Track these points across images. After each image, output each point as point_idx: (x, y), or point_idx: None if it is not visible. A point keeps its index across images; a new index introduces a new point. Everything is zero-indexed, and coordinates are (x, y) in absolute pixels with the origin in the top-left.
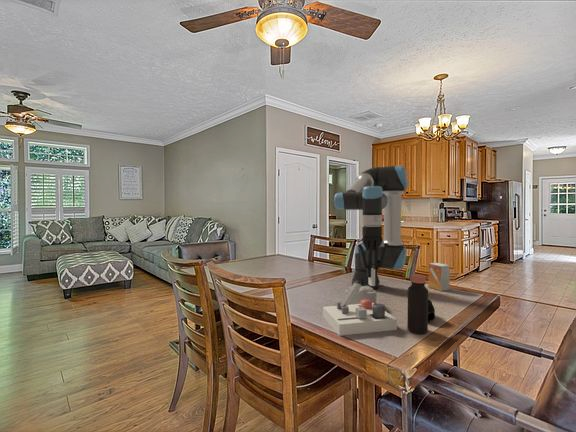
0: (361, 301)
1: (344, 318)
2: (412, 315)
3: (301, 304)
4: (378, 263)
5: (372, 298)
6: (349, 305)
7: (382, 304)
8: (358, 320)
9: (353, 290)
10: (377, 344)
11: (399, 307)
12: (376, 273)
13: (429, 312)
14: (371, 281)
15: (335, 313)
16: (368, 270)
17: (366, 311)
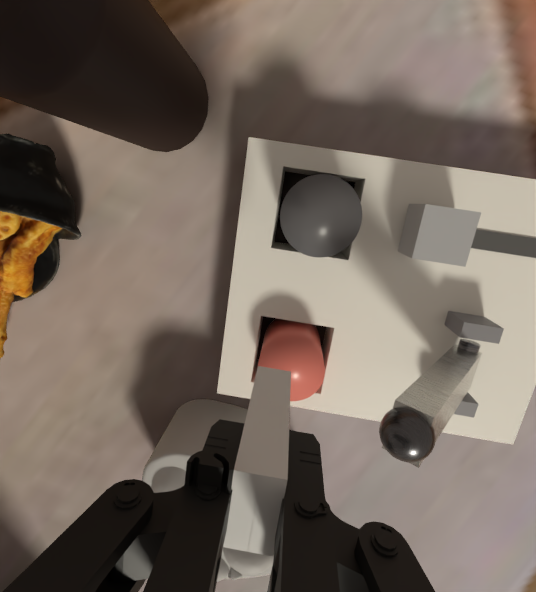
0: (324, 375)
1: (523, 253)
2: (179, 50)
3: (487, 569)
4: (114, 572)
5: (192, 432)
6: (364, 408)
7: (282, 226)
8: (467, 201)
9: (447, 390)
10: (456, 33)
11: (69, 370)
12: (213, 442)
13: (13, 139)
14: (289, 395)
15: (515, 338)
16: (321, 494)
17: (424, 204)
